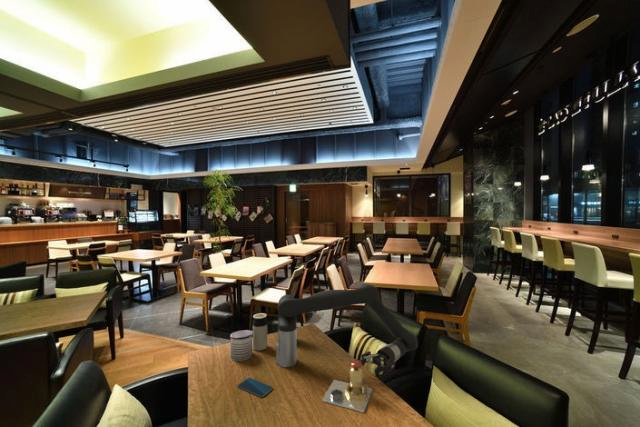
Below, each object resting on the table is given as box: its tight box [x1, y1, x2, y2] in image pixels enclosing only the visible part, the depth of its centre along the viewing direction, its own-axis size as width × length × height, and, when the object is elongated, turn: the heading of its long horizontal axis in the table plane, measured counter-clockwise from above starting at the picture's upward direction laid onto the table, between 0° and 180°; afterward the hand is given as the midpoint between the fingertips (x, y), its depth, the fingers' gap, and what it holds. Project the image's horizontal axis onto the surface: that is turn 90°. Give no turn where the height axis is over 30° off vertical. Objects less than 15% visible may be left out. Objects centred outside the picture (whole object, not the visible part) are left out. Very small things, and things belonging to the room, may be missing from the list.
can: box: [229, 329, 253, 362], centre depth 146 cm, size 11×11×12 cm
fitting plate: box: [321, 379, 373, 414], centre depth 113 cm, size 17×14×2 cm
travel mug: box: [252, 312, 268, 352], centre depth 154 cm, size 8×8×18 cm
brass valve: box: [349, 359, 364, 395], centre depth 114 cm, size 5×5×12 cm
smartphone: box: [236, 377, 274, 399], centre depth 118 cm, size 8×15×1 cm, turn 59°
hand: (367, 367), depth 118 cm, fingers open, 8 cm apart
